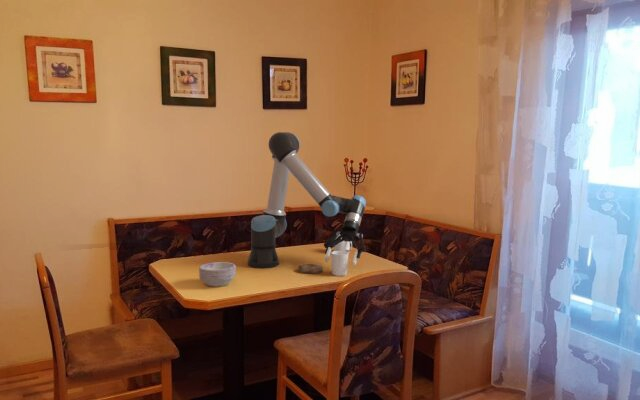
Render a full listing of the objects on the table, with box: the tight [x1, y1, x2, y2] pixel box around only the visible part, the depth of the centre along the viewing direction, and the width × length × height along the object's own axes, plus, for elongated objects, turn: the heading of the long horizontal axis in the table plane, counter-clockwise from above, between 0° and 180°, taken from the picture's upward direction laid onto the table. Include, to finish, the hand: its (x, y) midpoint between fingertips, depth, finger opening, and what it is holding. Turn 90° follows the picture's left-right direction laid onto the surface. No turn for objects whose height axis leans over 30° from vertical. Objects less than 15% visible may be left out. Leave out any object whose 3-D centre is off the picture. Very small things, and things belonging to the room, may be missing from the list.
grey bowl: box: [198, 261, 237, 287], centre depth 218 cm, size 15×15×8 cm
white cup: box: [330, 250, 350, 277], centre depth 236 cm, size 8×8×10 cm
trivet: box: [298, 263, 323, 275], centre depth 241 cm, size 11×11×2 cm
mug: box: [333, 235, 353, 254], centre depth 276 cm, size 9×12×11 cm
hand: (339, 262), depth 234 cm, fingers open, 13 cm apart
